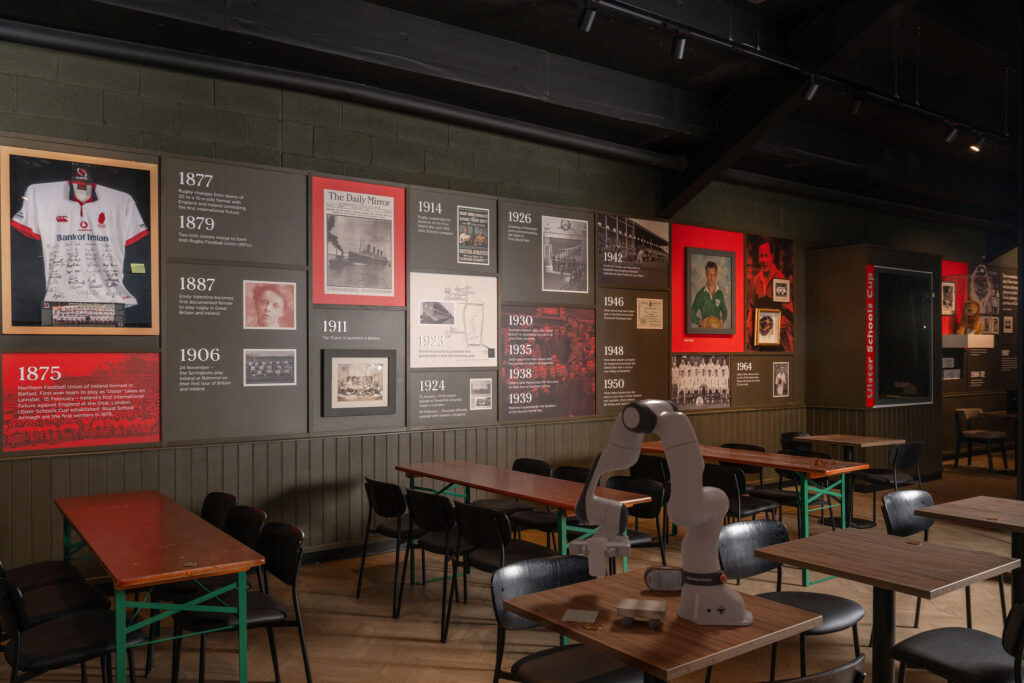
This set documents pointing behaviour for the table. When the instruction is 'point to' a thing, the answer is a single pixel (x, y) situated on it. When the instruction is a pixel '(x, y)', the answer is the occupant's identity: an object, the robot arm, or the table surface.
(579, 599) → the table surface
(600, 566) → the cup
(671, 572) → the tin
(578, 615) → the pad
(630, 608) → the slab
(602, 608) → the table surface
